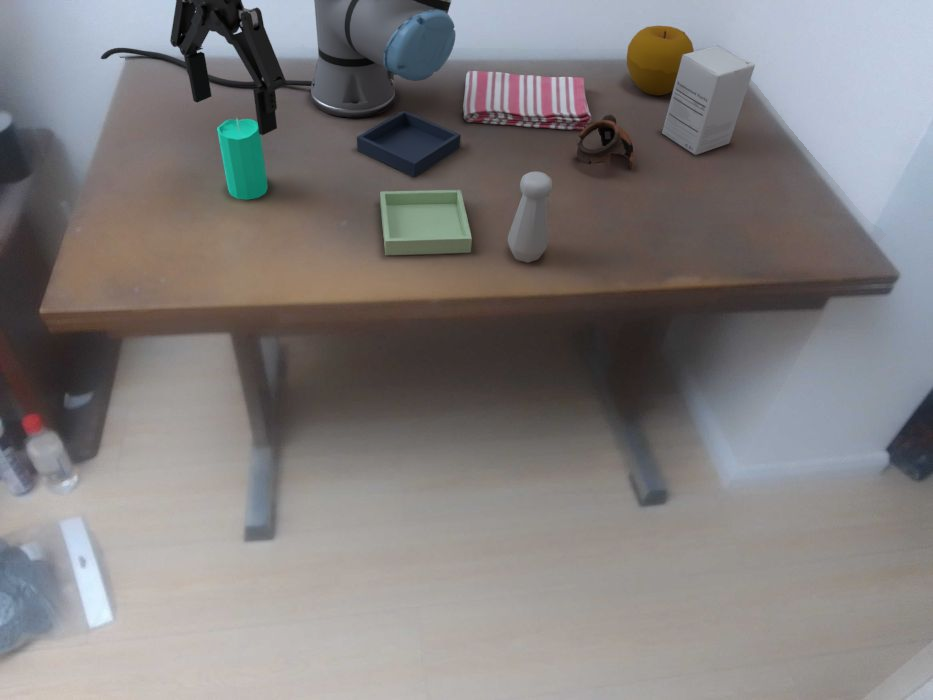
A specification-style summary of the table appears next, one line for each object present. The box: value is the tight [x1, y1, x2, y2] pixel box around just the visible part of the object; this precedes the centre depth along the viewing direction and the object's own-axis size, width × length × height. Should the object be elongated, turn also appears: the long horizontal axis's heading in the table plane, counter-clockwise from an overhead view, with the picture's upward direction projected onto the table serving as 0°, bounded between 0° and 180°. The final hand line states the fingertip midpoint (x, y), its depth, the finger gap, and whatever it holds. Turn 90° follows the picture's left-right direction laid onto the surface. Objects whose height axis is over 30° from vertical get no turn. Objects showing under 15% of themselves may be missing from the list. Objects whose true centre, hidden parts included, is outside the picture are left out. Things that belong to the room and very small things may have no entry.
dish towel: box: [462, 69, 592, 131], centre depth 143 cm, size 17×23×4 cm
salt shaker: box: [507, 171, 553, 264], centre depth 107 cm, size 6×6×13 cm
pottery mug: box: [575, 114, 635, 170], centre depth 130 cm, size 12×10×8 cm
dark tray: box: [356, 109, 462, 178], centre depth 129 cm, size 12×12×3 cm
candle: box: [216, 117, 269, 201], centre depth 115 cm, size 6×6×12 cm
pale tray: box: [379, 189, 473, 256], centre depth 114 cm, size 12×12×3 cm
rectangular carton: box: [661, 44, 756, 156], centre depth 134 cm, size 9×9×15 cm
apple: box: [626, 25, 695, 96], centre depth 149 cm, size 13×13×11 cm
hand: (234, 114), depth 110 cm, fingers open, 13 cm apart
